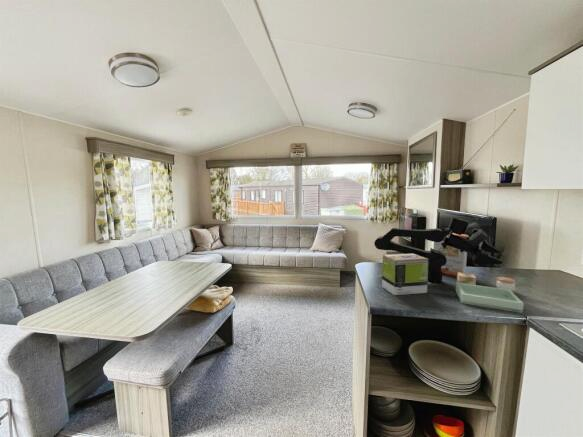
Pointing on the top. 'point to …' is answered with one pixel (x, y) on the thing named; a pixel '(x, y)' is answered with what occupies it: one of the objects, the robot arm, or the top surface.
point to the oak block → (466, 278)
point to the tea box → (405, 274)
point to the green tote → (489, 297)
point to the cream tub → (506, 283)
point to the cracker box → (452, 258)
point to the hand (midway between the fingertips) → (500, 257)
